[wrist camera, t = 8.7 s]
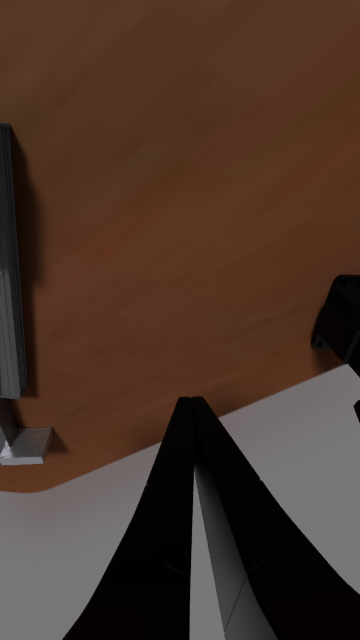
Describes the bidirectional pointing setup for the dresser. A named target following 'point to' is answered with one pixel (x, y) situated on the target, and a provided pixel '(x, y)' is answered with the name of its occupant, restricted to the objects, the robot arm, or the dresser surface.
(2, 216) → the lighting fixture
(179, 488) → the robot arm
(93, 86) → the dresser surface
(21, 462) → the end cap rail
